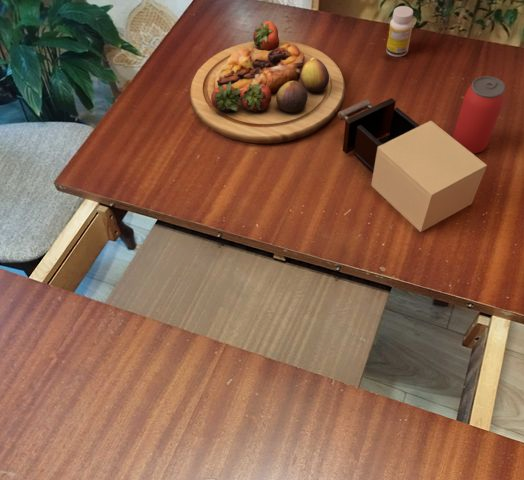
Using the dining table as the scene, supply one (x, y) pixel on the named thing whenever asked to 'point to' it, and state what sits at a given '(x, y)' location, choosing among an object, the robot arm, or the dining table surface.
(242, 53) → the wooden plate
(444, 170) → the tan box
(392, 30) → the supplement bottle
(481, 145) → the beer can
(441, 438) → the dining table surface
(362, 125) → the dark brown piece
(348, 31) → the dining table surface
